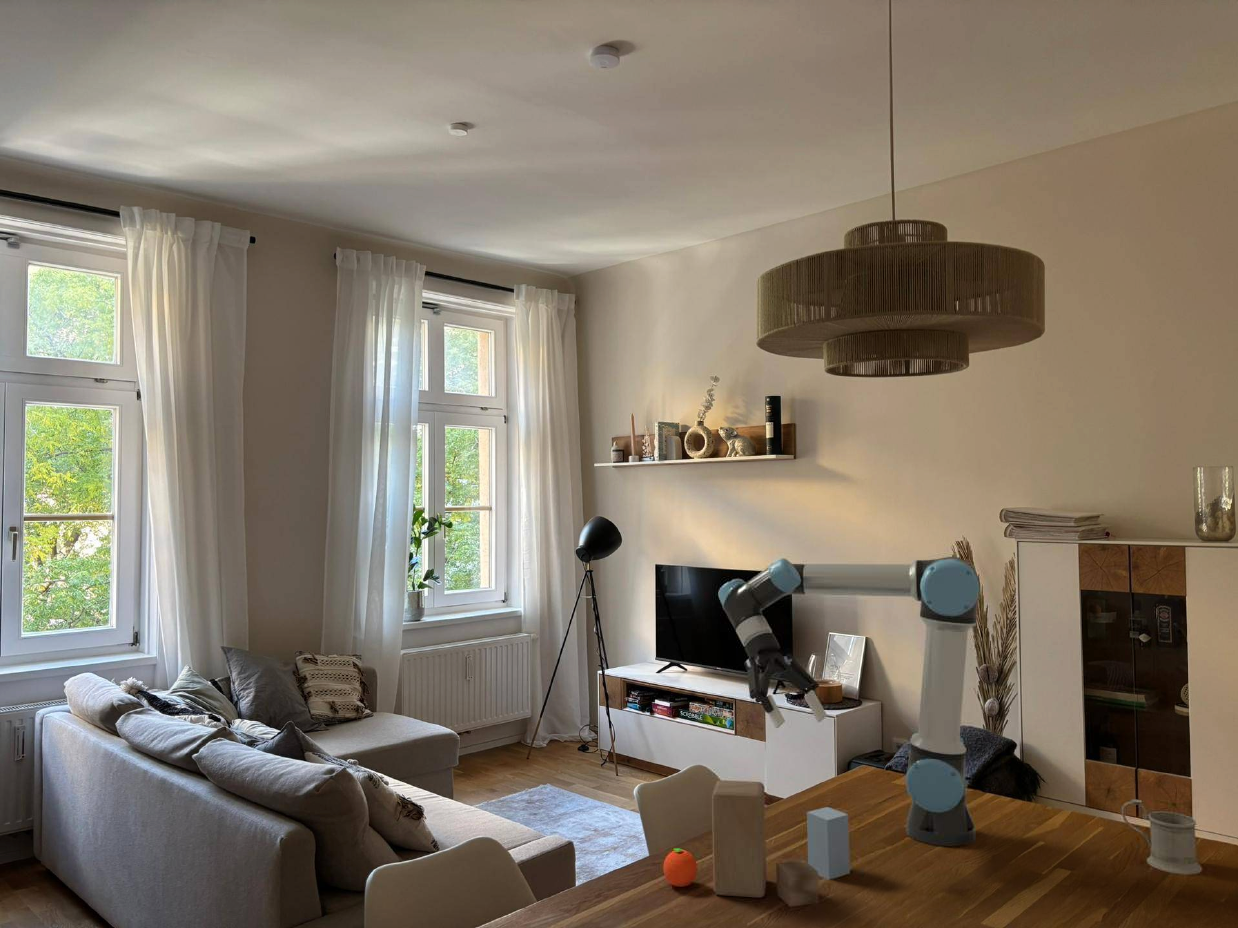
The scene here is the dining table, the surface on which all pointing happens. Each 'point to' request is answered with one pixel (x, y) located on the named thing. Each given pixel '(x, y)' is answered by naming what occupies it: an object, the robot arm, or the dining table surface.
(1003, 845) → the dining table surface
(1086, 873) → the dining table surface
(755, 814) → the block
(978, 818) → the dining table surface
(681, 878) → the clementine
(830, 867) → the slate block
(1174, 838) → the mug
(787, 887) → the walnut cube
